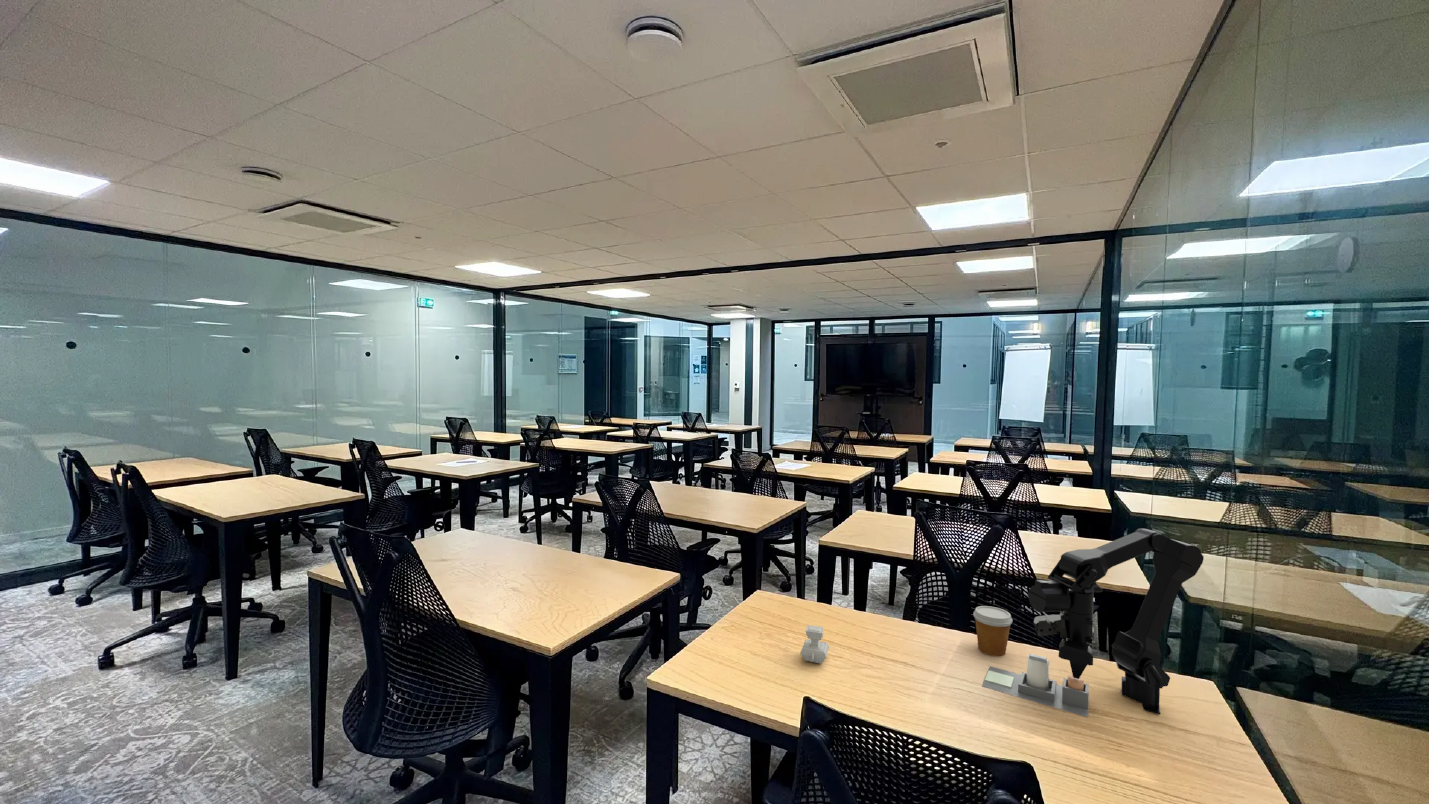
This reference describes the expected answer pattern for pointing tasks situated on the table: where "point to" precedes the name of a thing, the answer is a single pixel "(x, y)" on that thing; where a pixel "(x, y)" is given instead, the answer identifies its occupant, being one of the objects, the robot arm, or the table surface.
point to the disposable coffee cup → (992, 629)
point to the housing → (1039, 691)
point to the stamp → (814, 645)
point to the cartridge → (1037, 672)
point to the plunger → (1075, 683)
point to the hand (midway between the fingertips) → (1076, 677)
